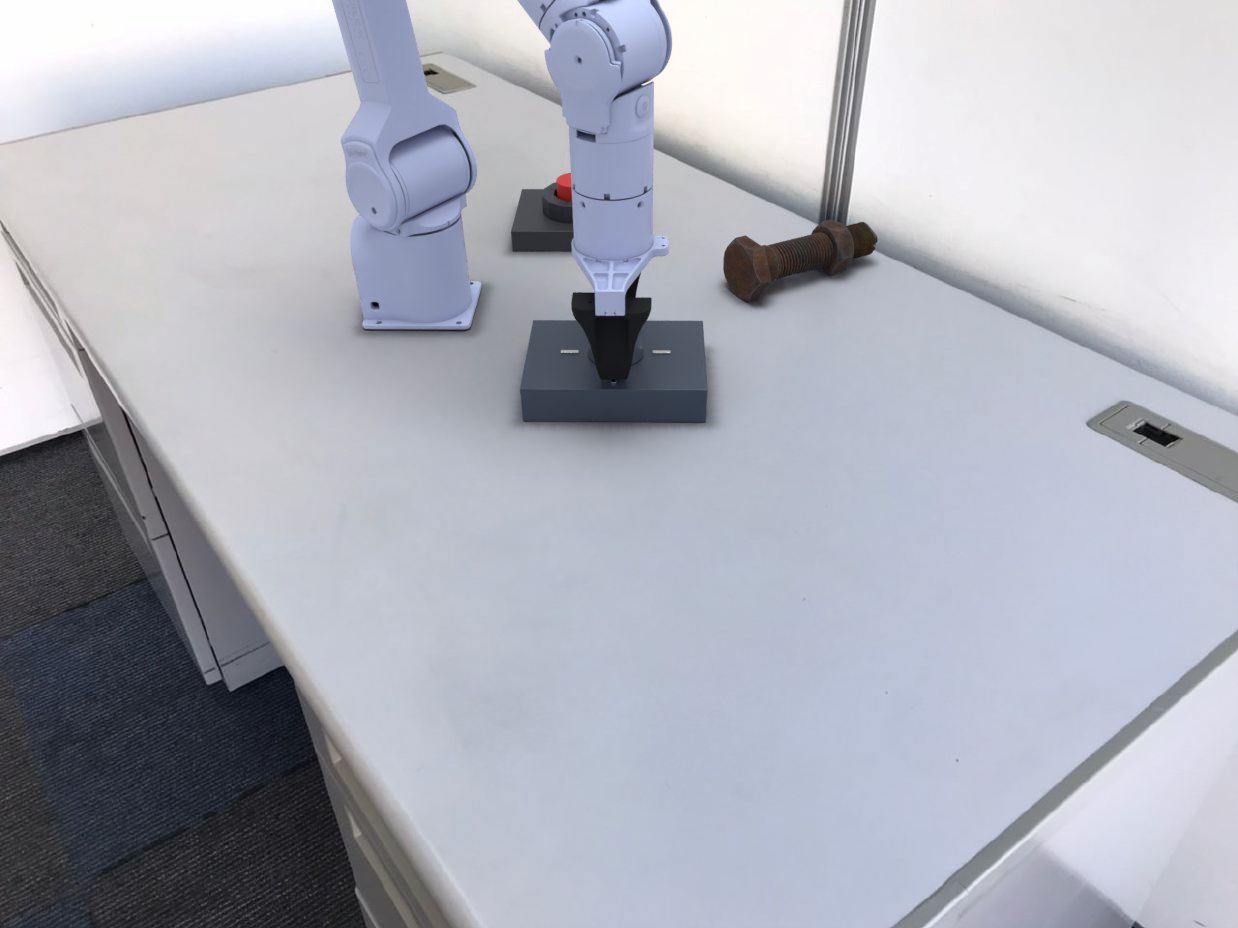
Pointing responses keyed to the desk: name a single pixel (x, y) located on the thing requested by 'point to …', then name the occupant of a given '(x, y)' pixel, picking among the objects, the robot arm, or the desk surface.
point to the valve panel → (651, 393)
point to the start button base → (542, 222)
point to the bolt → (794, 256)
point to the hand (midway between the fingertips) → (615, 349)
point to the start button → (564, 187)
